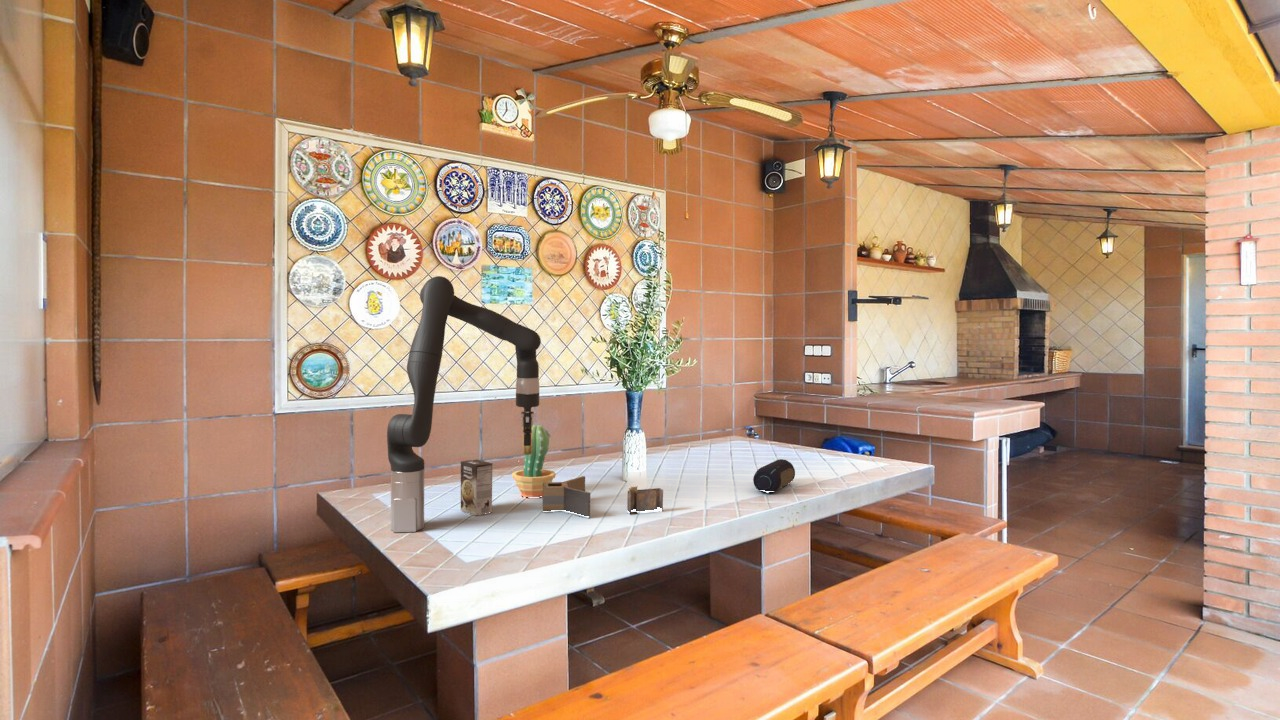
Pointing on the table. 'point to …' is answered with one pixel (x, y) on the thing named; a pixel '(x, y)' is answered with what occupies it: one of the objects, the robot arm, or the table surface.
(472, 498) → the coffee box
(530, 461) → the potted cactus
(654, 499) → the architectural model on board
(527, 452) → the hinge pin
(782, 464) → the portable speaker
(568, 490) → the hinge
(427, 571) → the table surface
